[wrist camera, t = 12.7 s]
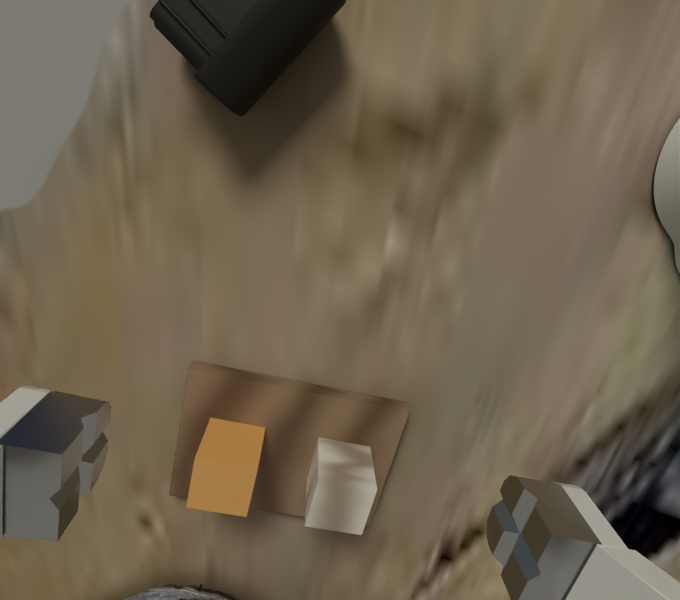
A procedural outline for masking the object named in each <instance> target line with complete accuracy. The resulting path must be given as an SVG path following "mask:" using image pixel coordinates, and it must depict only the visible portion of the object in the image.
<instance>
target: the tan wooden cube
mask: <svg viewBox="0 0 680 600" xmlns="http://www.w3.org/2000/svg"><path fill="white" fill-rule="evenodd" d="M264 433H265V427H259V426H254V425H248V424H243V423H237V422H232V421H226V420H221V419H216V418H210V420H209V423H208V425H207V428H206V431H205V433H204V436H203V438H202V441H201V443H200V446H199V449H198V451H197V454H196V456H195V459H194V465H193V471H192V476H191V482H190V488H189V494H188V499H187V505H186V508H193V509H199V510H205V511H211V512H218V513H224V514H230V515H237V516H243V517H247V513H248V509H249V505H250V501H251V496H252V492H253V488H254V483H255V479H256V475H257V470H258V465H259V460H260V455H261V449H262V444H263V439H264Z"/></svg>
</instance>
